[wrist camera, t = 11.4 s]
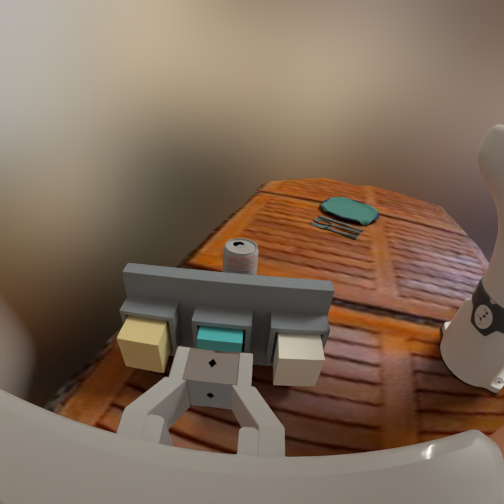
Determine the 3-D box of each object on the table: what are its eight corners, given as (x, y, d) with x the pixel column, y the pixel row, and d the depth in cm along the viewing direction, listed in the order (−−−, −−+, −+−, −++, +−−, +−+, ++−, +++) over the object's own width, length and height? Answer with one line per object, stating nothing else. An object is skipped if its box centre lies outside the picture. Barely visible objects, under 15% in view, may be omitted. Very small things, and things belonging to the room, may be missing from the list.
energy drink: (245, 295, 55) (250, 235, 49) (257, 313, 51) (264, 251, 45) (217, 300, 53) (218, 240, 47) (228, 320, 49) (230, 257, 43)
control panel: (309, 357, 43) (331, 281, 36) (312, 383, 39) (339, 307, 32) (143, 340, 43) (128, 262, 36) (133, 365, 39) (112, 285, 32)
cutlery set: (383, 214, 100) (385, 208, 99) (361, 245, 78) (362, 237, 77) (333, 198, 109) (334, 193, 108) (296, 223, 88) (297, 216, 87)
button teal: (242, 344, 39) (244, 316, 36) (239, 370, 35) (242, 343, 32) (204, 340, 39) (203, 312, 36) (198, 366, 35) (196, 338, 32)
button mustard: (172, 346, 37) (167, 318, 35) (163, 373, 33) (157, 345, 31) (136, 341, 37) (129, 312, 35) (125, 365, 33) (116, 338, 31)
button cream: (311, 358, 37) (319, 331, 35) (314, 386, 33) (324, 359, 31) (273, 357, 37) (278, 329, 35) (273, 385, 33) (279, 358, 31)
